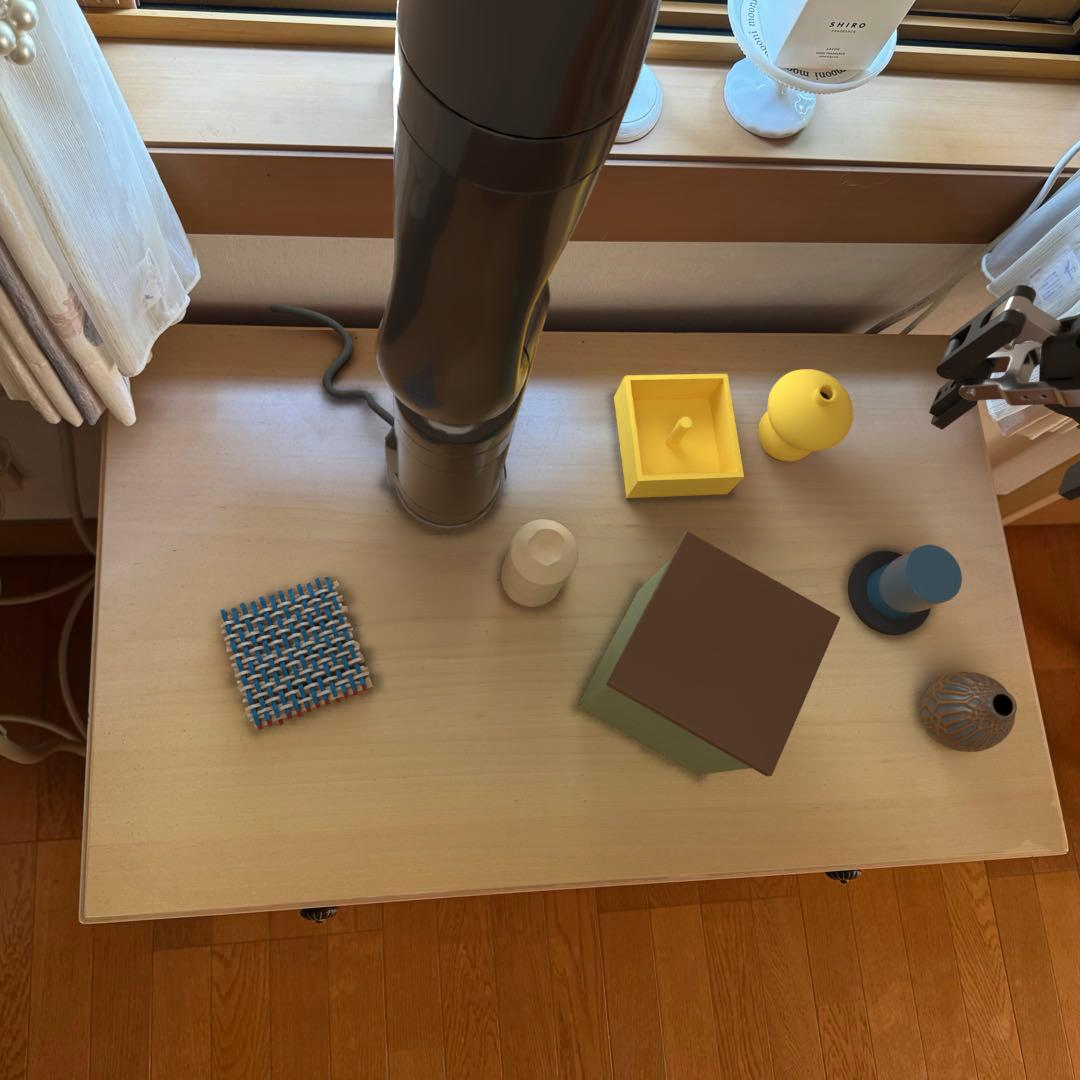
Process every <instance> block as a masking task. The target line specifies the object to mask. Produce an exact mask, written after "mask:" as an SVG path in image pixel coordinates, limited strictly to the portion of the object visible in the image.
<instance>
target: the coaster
mask: <svg viewBox="0 0 1080 1080" xmlns="http://www.w3.org/2000/svg"><path fill="white" fill-rule="evenodd" d="M902 555H903V554H902V553H899V552H896V551H892V550H891V551H890V550H880V551H875V552H873V553H870V554H868V555H866V556H865V557H863V558H862V559H860V560H858V562H857V563H856V564H855V565H854V567H853V568H852V570H851V571H850V575H849V577H848V582H847V583H848V584H847V592H848V600H849V603H850V605H851V607H852V609H853V611H854V613H855V614H856V615H857V617H858V618H859V620H861V622H862V623H863V624H865V625H866V626H867V627H868V628H869V629H871V630H873V631H876V632H877V633H879V634H883V635H887V636H901V635H906V634H908V633H911V632H913V631H915V630H917V629H918V628H920V627H921V626H922V625H924V623H925V622H926V620H927V619H928V617H929V615H930V613H931V609H932V607H931V608H929V609H926V610H924V611H921V612H919V613H916V614H914V615H911V616H909V617H906V618H904V619H890V618H887V617H885V616H883V615H881V614H880V613H879V612H877V611H876V610H875V609H874V607H873V606H872V604H871V603H870V601H869V598H868V595H867V582H868V579H869V577H870V575H871V574H872V572H873V571H874V570H876V569H877V568H879V567H881V566H883V565H885V564H887V563H889V562H890V561H892V560H894V559H896V558H898V557H900V556H902Z"/></svg>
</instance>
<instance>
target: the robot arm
mask: <svg viewBox="0 0 1080 1080" xmlns="http://www.w3.org/2000/svg"><path fill="white" fill-rule="evenodd" d="M662 2H663V0H397V4H396V5H397V6H396V26H395V46H394V69H393V70H394V72H393V74H394V75H393V117H394V118H393V119H394V120H393V121H394V123H393V124H394V133H393V162H392V163H393V166H392V227H393V232H392V233H393V260H392V261H393V263H392V272H391V279H390V286H389V289H388V293H387V298H386V302H385V308H384V312H383V315H382V319H381V321H380V324H379V326H378V331H377V334H376V338H375V342H374V358H375V363H376V366H377V369H378V372H379V374H380V377H381V378H382V380H383V381H384V383H385V385H386V387H387V388H388V389H389V390H390V392H391V393H392V403H393V415H392V414H391V413H390V412H388V411H387V410H386V409H385V408H384V407H382V405H380V404H379V403H378V402H377V401H376V400H375V398H374V396H373V395H372V394H371V393H370V392H368V391H365V390H363V389H361V390H360V389H346V390H341V389H335V388H334V387H333V385H332V379H333V378H334V376H335V374H336V373H337V372H338V371H339V370H340V368H341V367H342V366H343V365H345V363H346V362H347V361H348V359H349V358H350V357H351V355H352V352H353V349H354V343H353V340H352V338H351V336H350V334H349V332H348V331H347V330H346V328H344V327H343V326H342V325H341V324H340V323H339V322H338V321H336V320H334V319H333V318H331V317H330V316H327V315H325V314H322V313H320V312H318V311H317V312H316V311H314V310H310V309H306V308H301V307H297V306H292V305H286V304H278V303H272V304H270V305H269V306H268V307H269V308H268V309H269V310H270V311H271V312H272V313H277V314H285V315H291V316H297V317H301V318H306V319H309V320H313V321H316V322H319V323H321V324H324V325H326V326H328V327H329V328H331V329H332V330H333V331H334V332H335V333H337V335H339V336H340V338H341V339H342V341H343V344H344V348H343V351H342V352H341V354H340V355H339V356H338V357H337V358H336V359H335V360H334V362H332V364H331V365H329V367H328V368H327V369H326V370H325V373H324V374H323V377H322V387H323V390H324V392H326V394H327V395H328V396H330V397H331V398H334V399H340V400H342V399H344V400H345V399H361V400H363V401H365V403H366V404H367V406H368V407H369V409H370V410H371V411H372V412H374V413H375V415H377V416H378V417H379V418H381V419H382V420H383V421H384V422H386V423H387V424H388V425H389V426H390V427H391V428H390V429H389V431H388V432H387V434H386V435H385V437H384V455H385V457H384V458H385V470H386V471H385V472H386V483H387V485H388V486H389V487H391V488H393V489H394V490H395V491H396V494H397V497H398V499H399V502H400V504H401V505H402V507H403V508H404V510H405V511H406V512H407V513H408V515H410V516H411V518H413V519H414V520H415V521H417V522H419V523H421V524H422V525H423V526H426V527H428V528H432V529H435V530H440V531H455V530H462V529H464V528H468V527H470V526H472V525H475V524H476V523H478V522H479V521H481V520H482V519H483V518H484V517H486V515H487V514H488V513H489V512H490V511H491V509H492V508H493V506H494V504H495V503H496V500H497V497H498V495H499V491H500V486H501V485H500V484H501V479H502V475H503V476H504V481H507V467H506V460H507V456H508V453H509V449H510V445H511V442H512V438H513V435H514V430H515V426H516V422H517V420H518V415H519V412H520V408H521V406H522V403H523V399H524V395H525V393H526V390H527V386H528V382H529V379H530V376H531V373H532V369H533V366H534V363H535V358H536V355H537V350H538V347H539V344H540V340H541V337H542V333H543V329H544V326H545V321H546V320H547V314H548V312H549V307H550V303H551V295H552V294H551V283H550V279H549V278H550V277H551V275H552V273H553V271H554V269H555V267H556V265H557V264H558V261H559V260H560V258H561V256H562V255H563V253H564V250H565V248H566V246H567V245H568V244H569V243H568V242H569V241H570V239H571V237H572V235H573V233H574V231H575V228H576V226H577V225H578V222H579V220H580V218H581V216H582V214H583V212H584V210H585V208H586V206H587V204H588V201H589V199H590V198H591V195H592V193H593V191H594V189H595V186H596V184H597V182H598V179H599V177H600V175H601V173H602V170H603V169H604V166H605V164H606V163H607V160H608V157H609V155H610V153H611V151H612V149H613V147H614V144H615V142H616V139H617V137H618V134H619V131H620V128H621V125H622V123H623V120H624V118H625V116H626V112H627V110H628V107H629V105H630V102H631V99H632V97H633V94H634V92H635V89H636V86H637V84H638V81H639V79H640V76H641V73H642V71H643V67H644V64H645V61H646V57H647V55H648V51H649V48H650V45H651V41H652V38H653V34H654V32H655V27H656V26H657V25H656V24H657V20H658V17H659V14H660V10H661V5H662ZM1036 297H1037V293H1036V290H1035V289H1034V288H1033V287H1031V286H1029V285H1026V284H1017V285H1014V286H1013V287H1011V288H1010V289H1009V290H1007V291H1006V292H1005V293H1004V294H1003V295H1001V296H1000V297H998V298H997V299H995V300H994V301H993V302H992V303H991V304H989V305H988V306H986V307H985V308H984V309H983V310H981V311H980V312H978V313H977V314H976V315H975V316H974V317H972V318H971V319H969V320H968V321H966V323H964V324H963V325H961V326H960V327H959V328H958V329H956V330H955V331H953V332H952V333H951V334H950V337H949V339H948V341H947V346H946V349H945V351H944V353H943V355H942V357H941V360H940V361H939V363H938V365H937V367H936V369H935V371H936V374H937V375H938V376H939V377H940V378H942V379H945V380H948V381H947V382H946V383H945V384H943V385H942V386H941V387H940V388H939V389H938V390H937V392H936V394H935V397H934V400H933V402H932V404H931V406H930V409H929V414H930V415H932V417H931V420H930V424H931V425H932V426H934V427H936V428H938V429H940V430H945V429H946V428H947V427H948V426H950V425H951V424H952V423H954V422H955V421H957V420H959V418H961V417H963V416H964V415H965V414H966V413H967V412H969V411H970V410H972V409H974V408H975V407H976V406H977V404H978V403H979V401H992V400H994V401H995V400H996V401H997V400H1004V401H1005V402H1006V404H1007V405H1009V406H1012V407H1016V406H1036V405H1037V406H1039V405H1043V407H1044V408H1046V409H1049V410H1051V411H1052V412H1054V413H1056V414H1058V415H1062V416H1064V417H1067V418H1069V419H1072V420H1073V421H1074V422H1076V423H1077V424H1078V425H1079V426H1080V313H1079V314H1075V315H1072V316H1071V315H1070V316H1066V317H1063V318H1060V319H1057V318H1055V317H1054V316H1052V315H1050V314H1049V313H1047V312H1046V311H1044V310H1043V309H1041V308H1039V307H1037V306H1035V304H1034V302H1035V300H1036ZM1002 348H1003V349H1004V350H1000V349H1002ZM1037 367H1039V371H1038V381H1030V379H1031V376H1032V374H1033V371H1034V370H1035V369H1036V368H1037ZM998 373H1004V374H1003V375H1002V376H1000V377H992V376H993V375H992V374H998ZM1057 493H1058V495H1059V496H1060V497H1063V498H1064V499H1066V500H1068V501H1074V500H1076V499H1078V498H1080V460H1079V461H1077V462H1075V463H1073V464H1071V465H1070V466H1069V467H1068V468H1067V469H1066V471H1065V472H1064V475H1063V478H1062V480H1061V483H1060V486H1059V489H1058V492H1057Z"/></svg>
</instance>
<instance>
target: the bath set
mask: <svg viewBox="0 0 1080 1080" xmlns="http://www.w3.org/2000/svg"><path fill="white" fill-rule="evenodd" d="M730 388H731V387H730V382H729V375H728V373H689V374H687V373H686V374H684V373H683V374H680V373H679V374H678V373H677V374H635V375H634V374H633V375H632V374H631V375H629V374H628V375H627V374H626V375H624V376H623V378H622V379H621V381H620V384H619V386H618V388H617V390H616V392H615V394H614V396H613V401H614V402H613V403H614V409H615V419H616V426H617V431H618V432H617V435H618V442H619V449H620V457H621V458H620V459H621V465H622V472H623V474H622V475H623V483H624V490H625V498H626V499H635V498H663V497H665V498H666V497H687V496H688V497H689V496H711V495H728V494H729V493H730V492H731V491H732V489H734V488H735V487H736V486H737V485H738V484H739V483H740V482H741V481H742V480H743V479H744V478H745V474H744V468H743V462H742V455H741V450H740V443H739V437H738V430H737V425H736V419H735V412H734V406H733V400H732V395H731V394H732V393H731V389H730ZM766 409H767V410H766V411H765V413H764V414H763V416H762V417H761V419H760V421H759V424H758V429H757V434H758V440H759V443H760V445H761V447H762V448H763V450H764V451H765V452H766V453H767V454H768V455H769V456H771V457H772V458H774V459H775V460H779V461H781V462H782V461H783V462H795V461H799V460H801V459H804V458H805V457H808V455H809V454H811V452H822V451H826V450H829V449H832V448H833V447H835V446H837V445H838V444H840V442H842V441H843V440H844V439H845V438H846V436H847V435H849V432H850V430H851V428H852V424H853V420H854V408H853V403H852V400H851V397H850V394H849V393H848V391H847V390H846V388H845V387H844V385H842V383H840V381H838V380H837V379H836V378H835V377H834V376H832V375H831V374H829V373H827V372H823V371H821V370H818V369H814V368H813V369H812V368H803V369H801V368H800V369H796V370H792V371H790V372H788V373H786V374H784V375H783V376H781V377H780V378H779V379H778V380H777V381H776V383H775V384H774V385H773V386H772V388H771V390H770V392H769V395H768V398H767V408H766Z"/></svg>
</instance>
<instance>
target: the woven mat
mask: <svg viewBox="0 0 1080 1080" xmlns="http://www.w3.org/2000/svg"><path fill="white" fill-rule="evenodd" d="M324 581H325V585H322V582H321V580H320V577H316V578H314V582H315V584H316V587H315V588H313V586H312V583H311V582H307V583H305V585H306V588H307V590H306V591H304V589H303V586H302V584H301V583H298V584H296V585H295V586H296V589H297V592H298V593H297V594H295V593H294V590H293V588H288V589H287V593H288V596H285V594H284V592H283V590H282V589H280V590H278V591H277V594H278V598H279V599H277V600H276V598H275V596H274V594H271V595H268V598H269V602H270V603H267V601H266V599H265V598H264V596H259V597H258V600H259V604H260V606H258V607H257V603H256V601H255V600H253V601H250V602H249V603H250V607H251V609H249V610H248V607H247V604H245V602H240V603H239V606H240V610H241V612H240V613H239V611H238V609H237V607H236V606H234V607H232V608H230V610H231V614H230V615H229V614H228V612H227V610H225V608H223V609H220V610H219V612H220V614H221V617H222V618H220V619H218V620H217V626H219V627H220V629H221V628H223V627H224V629H223V630H220V633H221V634H226V636H225V637H223V640H224V641H225V644H226V647H225V650H226V652H227V653H233V654H232V655H231V656H229V658H228V659H230V661H232V660H233V663H231V666H230V667H231V668H233V671H234V672H233V673H234V678H235V680H237V681H236V682H235V683H236V684H237V687H236V688H237V690H239V692H240V693H242V692H243V693H242V695H243V697H245V698H242V703H248V706H247V707H245V708H244V712H245V716H246V717H247V718H248V719H249V722H253V725H254V728H255V729H256V730H258V731H261V730H263V729H264V727H265V726H267V727H269V728H270V727H272V726H273V725H274V724H273V723H275V722H277V721H278V725H279V726H282V725H284V719H287V720H291V719H293V716H296V715H297V718H301V717H303V713H304V712H306V713H312V709H314V708H315V709H316V710H318V709H320V708H322V705H325V706H329V705H331V702H333V701H335V704H339V703H341V698H344V699H349V698H350V695H352V694H353V696H354V697H357V696H359V692H361V691H363V693H365V692H367V691H368V689H369V688H373V687H374V685H373V682H372V680H371V678H370V676H369V675H370V672H369V667H368V666H364V665H361V666H360V664H362V663H365V662H366V661H365V658H364V655H363V653H361V651H359V650H360V647H361V644H360V642H358V641H356V640H352V639H354V636H353V633H352V631H354V627H352V625H351V622H349V621H348V618H347V617H346V616H344V617H343V614H345V613H348V612H349V610H348V609H349V608H348V606H346V605H343V604H342V603H343V602H345V600H344V597H343V594H340V595H339V592H338V591H334V590H337V588H338V587H339V586H340V582H338V581H337V580H334V581H332V582H331V580H330V577H329V575H327V576H325V577H324ZM319 596H320V597H319ZM317 597H318V598H317ZM310 599H311V600H310ZM307 600H309V601H307ZM298 603H301V604H298ZM289 605H291V607H289ZM279 609H281V610H279ZM271 612H273V613H271ZM270 613H271V614H270ZM261 615H263V616H261ZM336 617H337V618H338V619H335V618H336ZM253 618H254V619H253ZM252 619H253V620H252ZM326 621H328V622H327V623H325V622H326ZM242 622H244V623H242ZM232 624H235V625H234V626H232ZM318 624H319V625H318ZM316 625H317V626H316ZM309 627H310V628H309ZM306 628H309V629H306ZM267 631H268V632H267ZM298 631H300V632H298ZM288 634H291V635H289V636H288ZM329 634H330V635H329ZM279 637H281V638H280V639H278V638H279ZM270 641H271V642H270ZM344 641H345V643H342V642H344ZM260 644H262V645H260ZM334 645H336V646H335V647H333V646H334ZM251 647H252V648H251ZM325 649H326V650H325ZM242 650H243V651H242ZM240 651H242V652H240ZM316 652H318V653H316ZM307 655H308V656H307ZM305 656H306V657H305ZM287 662H288V663H287ZM277 665H279V666H277ZM353 666H354V668H353V669H351V667H353ZM268 669H269V670H268ZM342 669H344V670H345V672H341V670H342ZM334 672H335V673H336V675H333V676H332V674H333V673H334ZM248 676H249V677H248ZM325 676H326V678H325V679H323V678H322V677H325ZM366 676H368V677H366ZM365 677H366V678H365ZM357 679H358V680H357ZM314 680H316V682H313V681H314ZM306 683H307V685H304V684H306ZM297 686H298V687H297ZM295 687H297V689H294V688H295ZM285 690H288V692H285ZM244 691H245V692H244ZM277 693H278V695H275V694H277ZM267 697H269V698H268V699H266V698H267ZM258 700H259V702H257V703H256V701H258Z"/></svg>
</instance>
